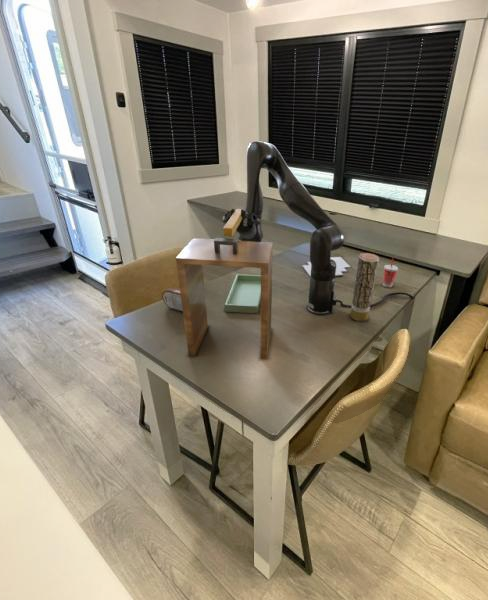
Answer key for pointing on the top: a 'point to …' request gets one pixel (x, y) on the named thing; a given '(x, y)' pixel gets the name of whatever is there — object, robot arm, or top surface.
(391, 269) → the beverage cup
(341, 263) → the paper stack
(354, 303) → the bark covered firewood piece
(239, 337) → the top surface
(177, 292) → the tin
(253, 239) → the robot arm
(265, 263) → the shelf stand
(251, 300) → the tray
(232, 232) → the rod
